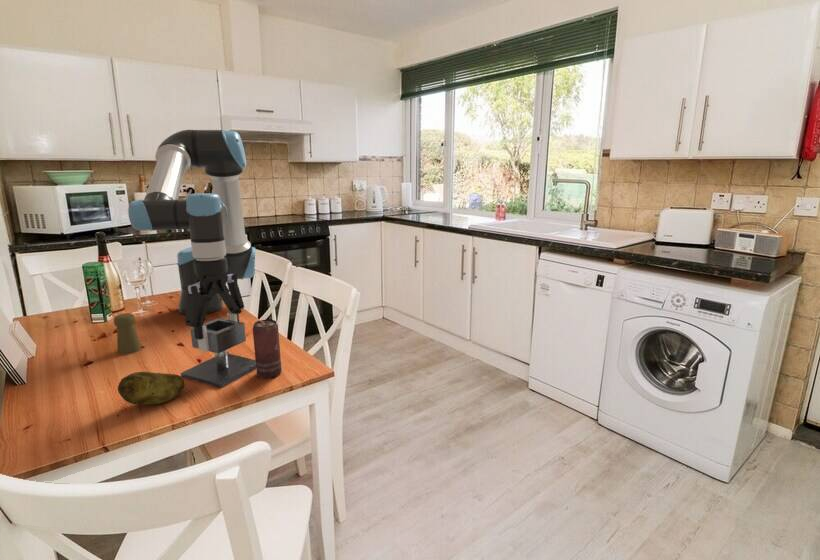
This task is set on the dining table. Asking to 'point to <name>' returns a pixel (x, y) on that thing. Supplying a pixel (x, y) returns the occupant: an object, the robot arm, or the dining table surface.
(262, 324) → the can
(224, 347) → the grey open square box
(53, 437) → the dining table surface
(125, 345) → the cork
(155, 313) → the dining table surface
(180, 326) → the dining table surface
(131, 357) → the dining table surface
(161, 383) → the green avocado
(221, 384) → the post
